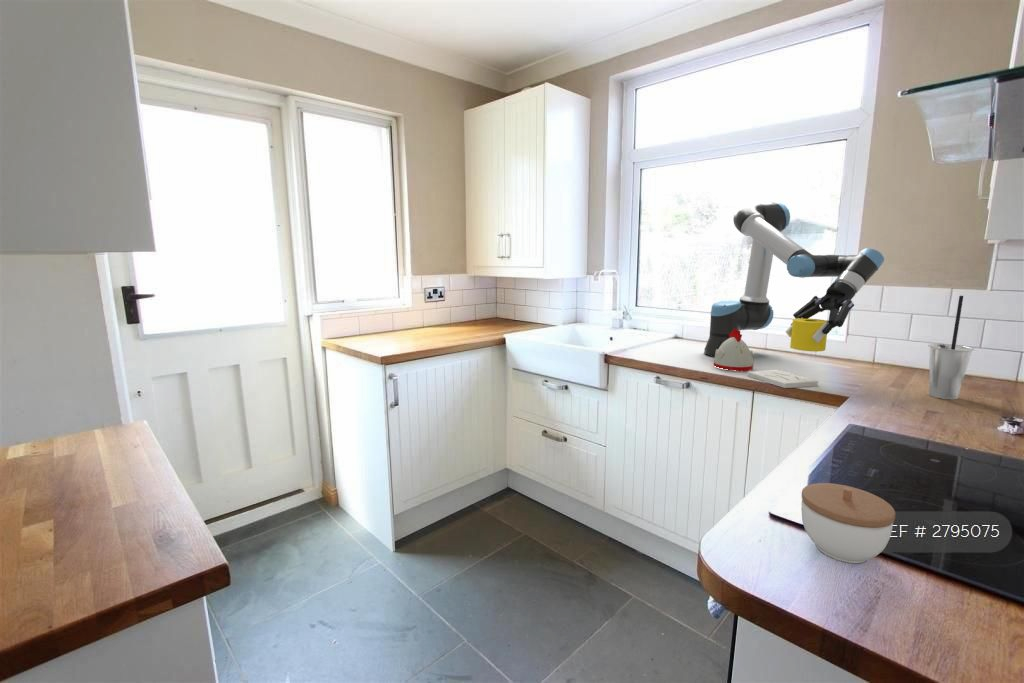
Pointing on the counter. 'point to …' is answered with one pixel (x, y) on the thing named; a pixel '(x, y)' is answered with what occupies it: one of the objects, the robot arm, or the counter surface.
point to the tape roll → (807, 335)
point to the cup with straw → (948, 365)
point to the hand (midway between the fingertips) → (801, 337)
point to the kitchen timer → (734, 354)
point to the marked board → (782, 378)
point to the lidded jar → (846, 521)
